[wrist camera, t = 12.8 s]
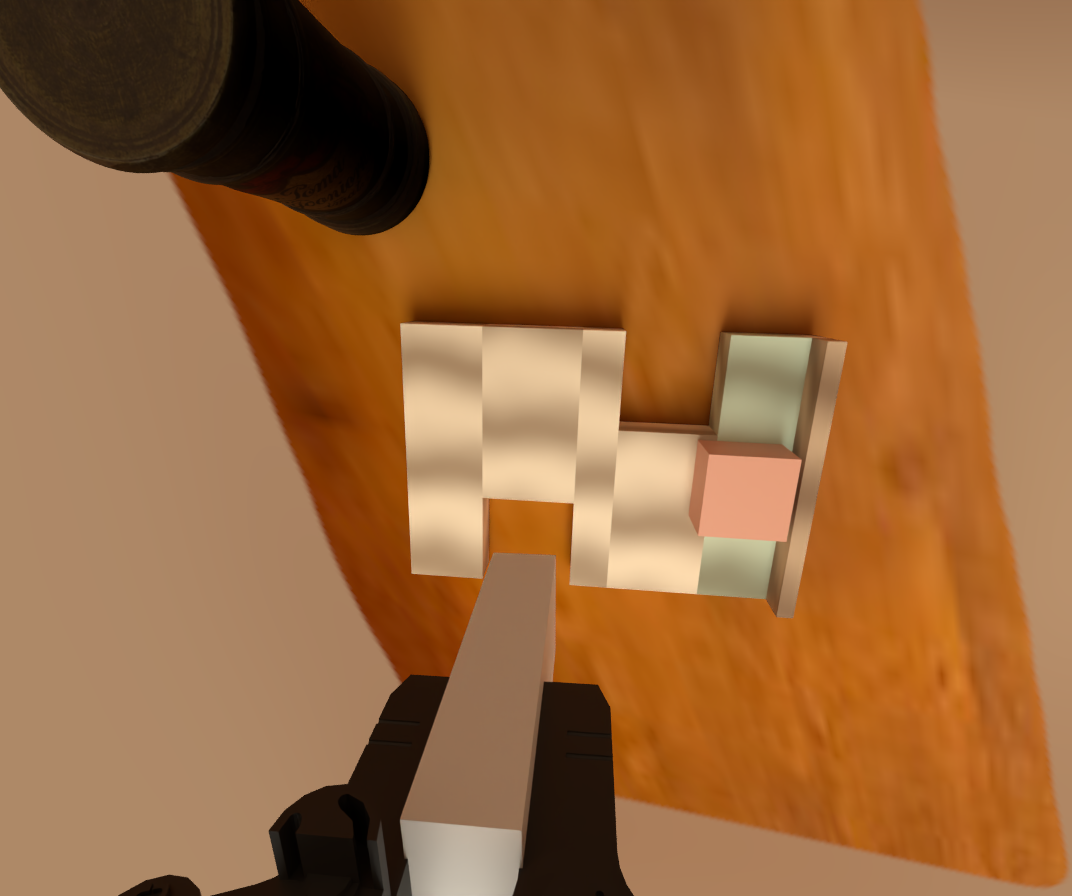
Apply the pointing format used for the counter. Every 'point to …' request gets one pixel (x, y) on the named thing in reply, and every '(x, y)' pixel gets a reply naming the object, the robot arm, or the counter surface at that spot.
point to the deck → (604, 452)
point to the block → (743, 490)
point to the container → (220, 101)
